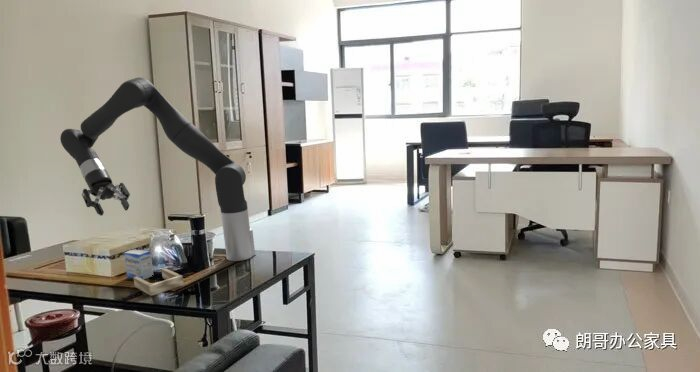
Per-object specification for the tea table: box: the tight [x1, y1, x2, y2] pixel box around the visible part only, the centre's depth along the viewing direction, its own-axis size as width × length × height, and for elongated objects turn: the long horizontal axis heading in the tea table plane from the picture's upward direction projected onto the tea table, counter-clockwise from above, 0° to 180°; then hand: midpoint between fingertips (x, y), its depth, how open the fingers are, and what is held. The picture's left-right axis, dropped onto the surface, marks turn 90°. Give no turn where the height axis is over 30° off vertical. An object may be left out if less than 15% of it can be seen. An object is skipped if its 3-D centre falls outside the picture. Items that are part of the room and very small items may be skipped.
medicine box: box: [123, 249, 154, 280], centre depth 175 cm, size 8×4×9 cm, turn 62°
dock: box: [132, 267, 184, 297], centre depth 165 cm, size 10×12×3 cm
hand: (115, 211), depth 178 cm, fingers open, 8 cm apart
